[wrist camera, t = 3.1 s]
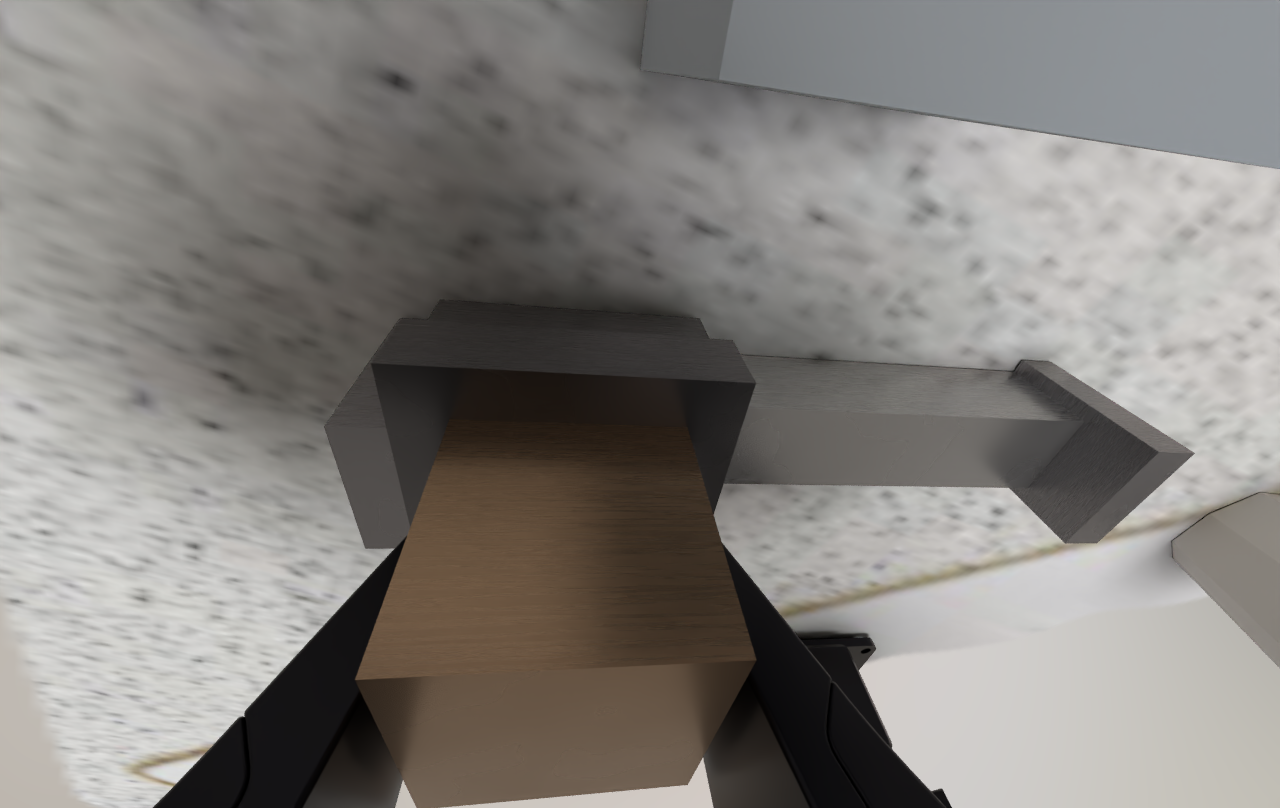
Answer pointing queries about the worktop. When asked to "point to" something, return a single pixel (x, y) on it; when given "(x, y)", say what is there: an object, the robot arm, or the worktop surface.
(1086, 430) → the rail
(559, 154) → the worktop surface
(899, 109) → the grey hollow block
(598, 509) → the carriage
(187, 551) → the worktop surface
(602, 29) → the worktop surface
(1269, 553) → the low poly bottle
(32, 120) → the worktop surface
